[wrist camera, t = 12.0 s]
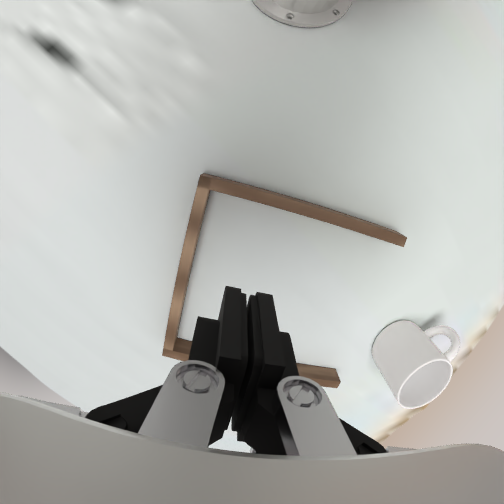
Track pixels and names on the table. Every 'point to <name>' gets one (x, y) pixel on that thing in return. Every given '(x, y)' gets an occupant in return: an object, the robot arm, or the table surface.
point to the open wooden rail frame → (207, 182)
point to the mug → (414, 361)
